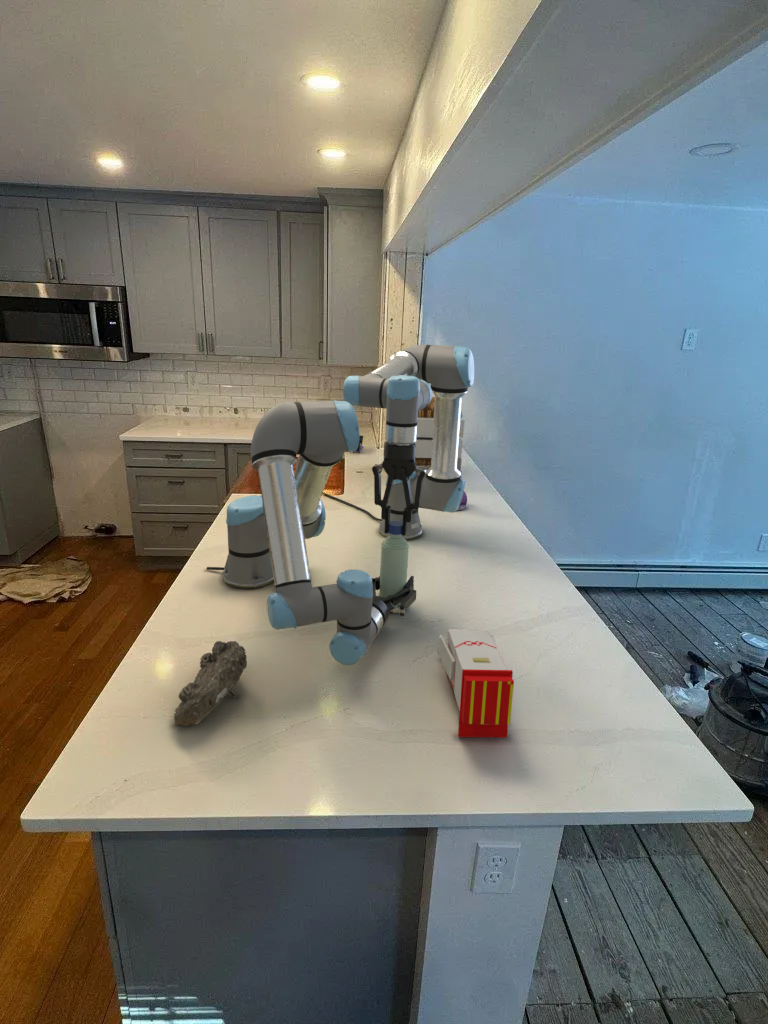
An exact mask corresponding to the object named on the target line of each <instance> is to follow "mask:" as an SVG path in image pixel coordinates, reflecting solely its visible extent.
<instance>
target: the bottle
mask: <svg viewBox="0 0 768 1024" xmlns="http://www.w3.org/2000/svg"><path fill="white" fill-rule="evenodd" d="M380 549H381V550H380V566H379V568H380V569H379V576H380V587H379V590H378V596H380V597H385V598H386V597H387V596H389V595H394V594H396V593H398V592H400V591H402V590H403V589H404V586H405V584H406V583H407V581H408V580H407V579H408V565H409V564H408V563H409V549H410V545H409V543H408V540H405V539H404V538H403V537H402V536H401V534H400V535H393V534H390V535H389V536H388V537H385V538H384V539H383V540H382V542H381V545H380ZM397 606H398V605H396V606H395V607H397ZM394 613H395V614H396V612H394ZM394 613H393V614H394Z"/></svg>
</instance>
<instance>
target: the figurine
mask: <svg viewBox="0 0 768 1024" xmlns="http://www.w3.org/2000/svg"><path fill="white" fill-rule="evenodd" d="M460 473H461V479H463V470H461V471H460ZM467 495H468V494H467V493H466V491H465V490H464V492H463V496H462V499H461V502H460V505H459V507H458V509H457V510H456V511H460V510H461V511H462V510H464V509H466V508H467V503H468V496H467Z"/></svg>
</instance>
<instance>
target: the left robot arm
mask: <svg viewBox="0 0 768 1024" xmlns="http://www.w3.org/2000/svg"><path fill="white" fill-rule="evenodd" d="M359 435H360V425H359V420H358V415H357V412H356V409H355V407H354V405H351V404H350V403H349V402H346V401H345V400H336V399H334V400H316V401H315V400H314V401H312V400H311V401H284V402H281V403H278V404H275V405H274V406H272V407H271V408H270V409H269V410H267V411H266V412H265V413H264V414H263V415H262V417H261V419H260V420H259V421H258V423H257V425H256V427H255V429H254V431H253V436H252V439H251V444H250V457H251V458H250V459H251V466H252V468H253V469H254V470H255V471H256V472H257V475H258V481H259V488H260V494H261V495H255V494H253V495H247V496H243V497H240V498H237V499H235V500H233V501H231V502H230V503H229V504H228V506H227V508H226V520H225V523H226V527H227V529H226V530H227V547H228V548H227V549H228V554H227V557H226V561H225V565H224V567H223V566H222V567H221V566H207V567H206V570H208V571H223V572H222V578H223V581H224V583H225V584H226V585H228V586H230V587H233V588H237V589H258V588H263V587H266V586H268V585H270V584H273V583H274V589H275V591H274V592H271V593H269V594H268V595H267V597H266V613H267V618H268V622H269V624H270V626H271V627H272V629H274V630H277V631H279V630H280V631H281V630H287V629H297V628H299V627H304V626H309V625H310V626H311V625H315V624H321V623H327V622H333V621H336V633H335V634H334V635H333V636H332V637H331V640H330V641H329V648H328V649H329V652H330V654H331V657H332V658H333V659H334V660H335V661H336V662H338V663H339V664H341V665H345V666H352V665H356V664H357V663H359V662H360V660H361V659H362V658H363V657H364V656H365V655H366V654H367V651H368V650H369V648H370V647H371V645H372V643H373V642H374V640H375V638H376V637H377V636H378V635H379V633H380V631H381V630H382V628H383V627H384V626H385V624H386V623H387V621H388V619H389V617H390V616H391V615H393V614H394V612H396V613H397V614H399V617H404V616H405V615H406V611H407V610H408V609H409V608H410V607H411V606H412V605H413V604H414V603H415V602H416V600H417V589H415V584H414V582H415V576H414V575H410V577H409V578H408V580H407V582H406V584H405V586H404V589H403V590H402V591H400V592H398V593H396V594H394V595H389V596H387V597H386V598H385V597H380V596H379V595H377V591H379V587H380V575H379V576H378V577H377V576H376V577H371V575H370V574H369V573H368V572H366V571H364V570H362V569H356V568H355V569H354V568H353V569H351V568H350V569H346V570H344V571H341V572H340V573H339V574H338V575H337V579H336V583H332V584H331V583H330V584H324V585H319V586H313V584H312V577H311V576H312V575H311V572H310V571H311V569H310V563H309V556H308V550H307V544H306V540H309V539H312V538H315V537H318V536H320V535H321V534H322V533H323V531H324V530H325V526H326V518H327V517H326V516H327V515H326V514H327V513H326V508H325V505H324V502H323V500H322V496H323V494H322V493H324V490H325V487H326V485H327V482H328V479H329V477H330V475H331V472H332V469H333V467H334V466H335V465H338V464H339V463H340V462H341V461H342V459H343V457H344V455H345V453H353V451H355V452H357V451H356V450H357V448H358V446H359ZM297 455H298V458H297ZM295 465H296V466H295ZM294 467H295V469H294ZM396 605H398V606H397V607H395V606H396ZM396 613H395V614H396Z"/></svg>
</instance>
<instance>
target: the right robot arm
mask: <svg viewBox="0 0 768 1024" xmlns="http://www.w3.org/2000/svg"><path fill="white" fill-rule="evenodd" d="M474 360H475V359H474V355H473V352H472V350H471V349H470V348H468V347H466V346H465V347H464V346H459V345H441V344H440V345H439V344H424V343H423V344H416V345H412V346H408V347H405V348H403V349H400V350H398V351H396V352H394V353H393V354H392V355H390V357H389V359H388V361H386V362H385V363H383V364H382V365H380V366H378V367H377V368H375V369H373V370H372V371H370V372H368V373H367V374H366V375H363V376H362V375H349V376H347V377H346V378H345V380H344V382H343V386H342V398H343V401H346V402H349V403H350V404H351V405H352V406H355V407H363V408H364V407H365V408H376V409H386V413H385V414H386V415H385V431H384V432H385V433H384V441H385V440H386V441H387V442H386V441H385V442H386V443H385V453H384V452H383V460H382V462H381V463H379V464H374V465H373V466H372V468H371V471H372V474H373V487H374V488H373V489H374V490H373V493H374V497H373V499H374V505H375V506H379V507H381V508H380V509H381V512H380V513H381V514H380V516H381V517H380V518H378V517H375V515H373V514H372V513H370V512H369V511H368V510H366V509H365V508H362V507H359V506H358V505H355V504H353V503H350V502H349V501H345V500H343V499H341V498H338V497H335V496H334V495H331V494H328V493H325V492H323V493H322V496H326V497H328V498H331V499H333V500H335V501H338V502H341V503H343V504H345V505H347V506H350V507H352V508H355V509H357V510H360V511H362V512H363V513H366V514H367V515H369V516H370V517H371V518H372V519H373V520H375V521H378V522H379V526H378V533H379V534H380V535H381V536H382V537H385V538H387V537H388V536H389V535H390V533H389V532H388V525H389V522H391V521H400V522H403V528H402V534H401V536H402V537H403V538H404V539H405V540H406V541H410V540H415V539H418V538H420V537H421V536H422V535H423V525H422V524H421V518H420V515H419V509H425V510H432V511H437V512H442V513H444V512H446V513H455V512H457V511H458V510H457V509H458V507H459V505H460V502H461V499H462V496H463V492H464V491H465V489H466V480H465V479H464V478H461V473H460V471H459V470H458V469H457V456H458V444H459V431H460V418H462V417H461V412H462V404H463V398H464V397H463V396H465V395H466V394H467V393H468V389H469V388H471V387H473V385H474V383H475V361H474ZM433 395H434V397H435V404H434V421H433V438H432V455H431V465H430V466H429V468H427V469H426V468H421V467H420V466H417V464H416V462H415V454H416V444H415V443H414V442H416V438H417V420H418V411H420V410H422V409H424V408H425V407H426V406H427V405H428V404H429V403H430V401H431V399H432V397H433ZM383 471H384V472H385V473H386V482H385V490H384V494H383V497H382V472H383Z"/></svg>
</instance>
